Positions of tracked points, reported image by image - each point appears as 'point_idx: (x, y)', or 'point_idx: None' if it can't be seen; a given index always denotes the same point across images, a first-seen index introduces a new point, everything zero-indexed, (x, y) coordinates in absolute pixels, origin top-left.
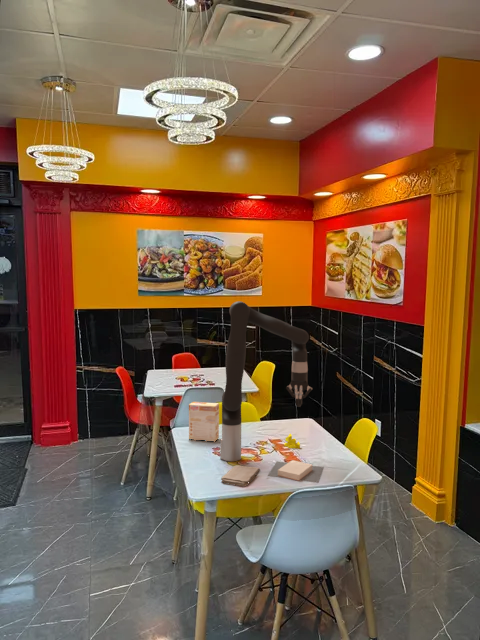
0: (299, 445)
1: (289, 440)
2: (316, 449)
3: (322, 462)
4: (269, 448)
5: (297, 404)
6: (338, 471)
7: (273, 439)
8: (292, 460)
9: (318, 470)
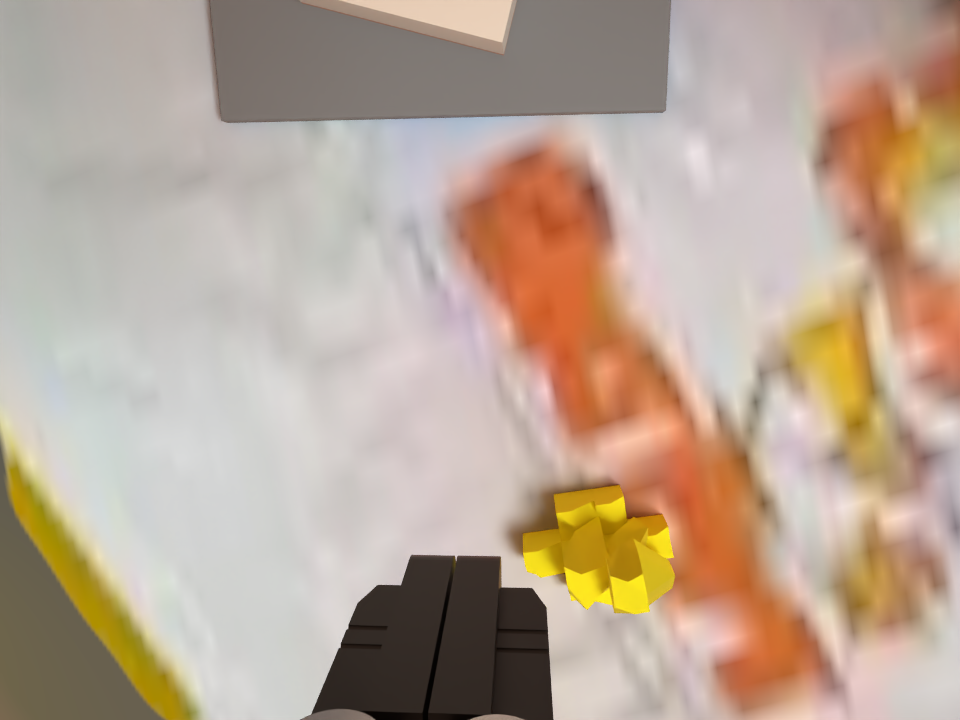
0: (528, 547)
1: (625, 542)
2: (385, 559)
3: (274, 272)
4: (794, 463)
5: (481, 580)
6: (104, 106)
7: (795, 692)
8: (496, 30)
9: (248, 15)
